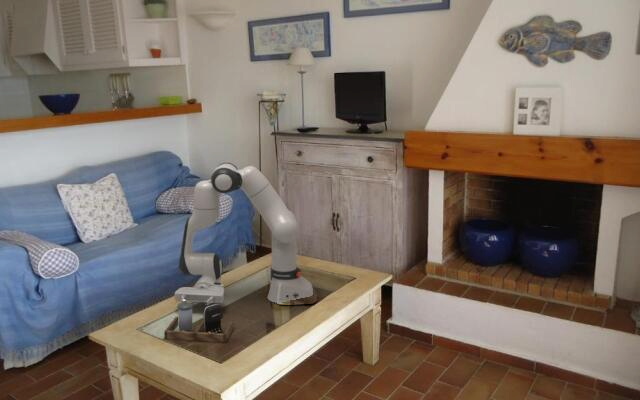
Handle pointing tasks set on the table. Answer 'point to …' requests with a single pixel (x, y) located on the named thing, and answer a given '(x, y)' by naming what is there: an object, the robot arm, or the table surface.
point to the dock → (197, 333)
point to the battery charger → (213, 318)
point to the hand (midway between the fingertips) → (194, 302)
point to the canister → (185, 317)
